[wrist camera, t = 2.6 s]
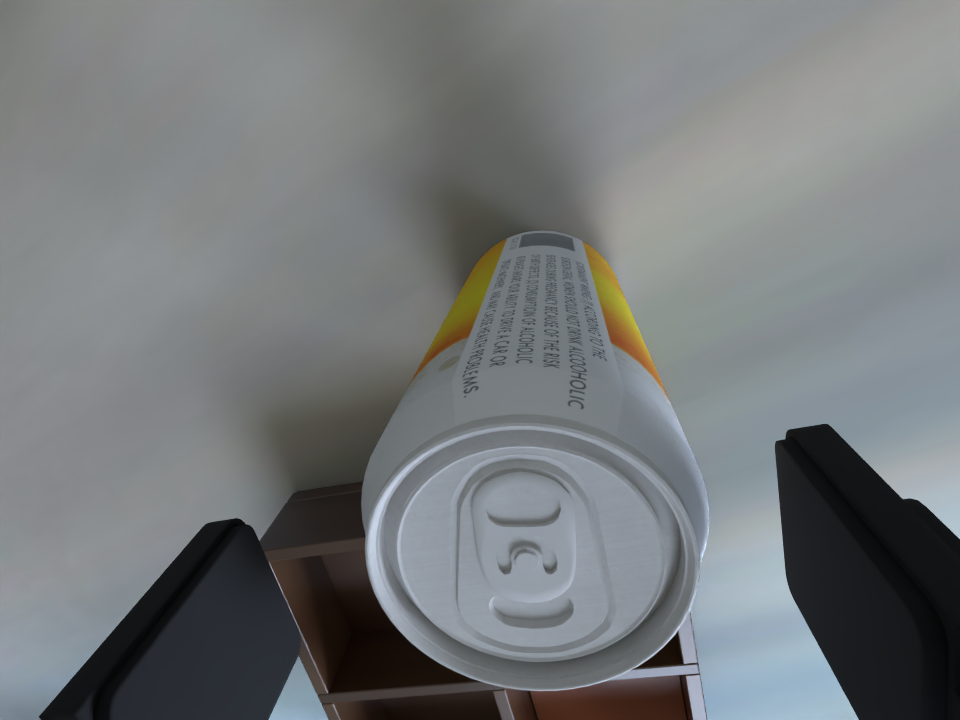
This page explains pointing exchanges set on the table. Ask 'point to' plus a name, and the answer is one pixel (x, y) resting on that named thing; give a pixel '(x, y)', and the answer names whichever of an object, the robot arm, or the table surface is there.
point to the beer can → (536, 481)
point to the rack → (407, 670)
